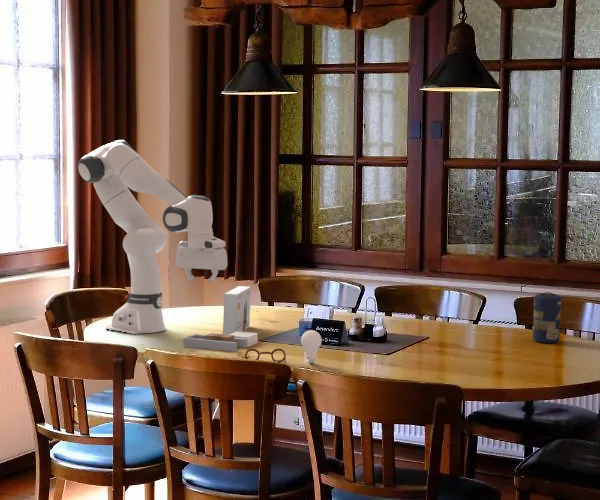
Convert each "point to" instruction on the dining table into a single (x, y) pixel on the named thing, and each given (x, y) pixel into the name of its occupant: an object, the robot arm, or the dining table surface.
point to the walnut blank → (220, 337)
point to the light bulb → (311, 344)
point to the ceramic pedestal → (247, 337)
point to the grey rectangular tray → (213, 343)
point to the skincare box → (236, 310)
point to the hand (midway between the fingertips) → (201, 281)
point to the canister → (546, 317)
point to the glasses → (268, 353)
